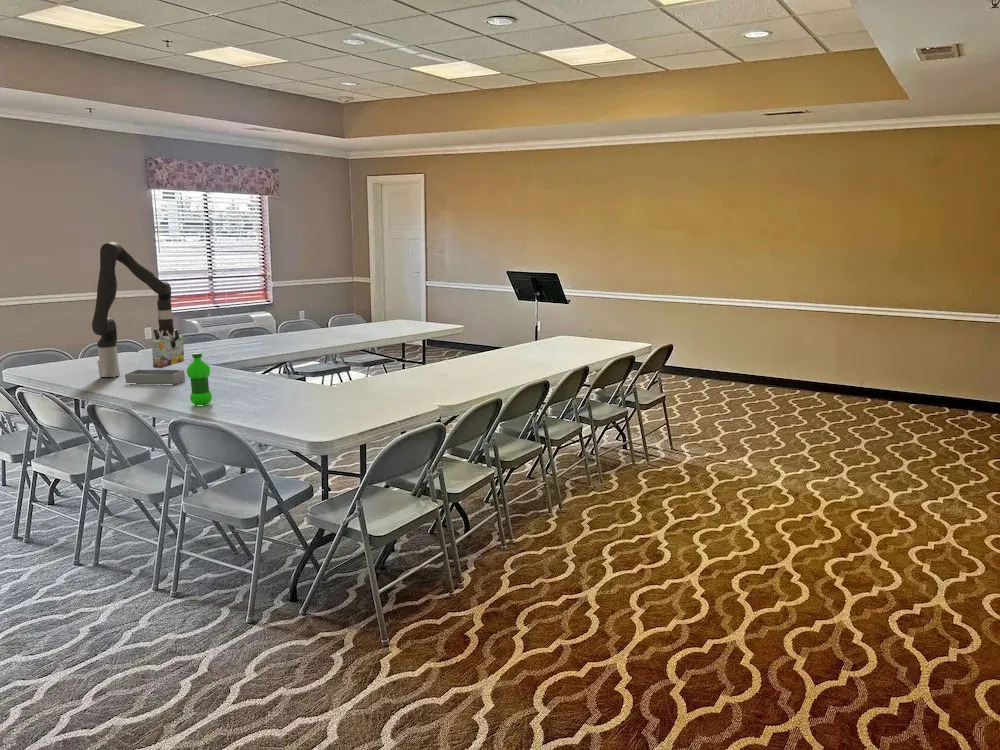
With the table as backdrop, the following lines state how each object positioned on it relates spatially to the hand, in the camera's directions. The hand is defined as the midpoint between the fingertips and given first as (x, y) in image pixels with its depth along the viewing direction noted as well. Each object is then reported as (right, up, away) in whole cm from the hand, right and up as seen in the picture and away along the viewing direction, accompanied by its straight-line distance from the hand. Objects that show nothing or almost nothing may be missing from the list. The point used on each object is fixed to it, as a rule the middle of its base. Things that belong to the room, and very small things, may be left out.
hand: (168, 347), depth 414 cm
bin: (0, -19, -15) cm, 25 cm away
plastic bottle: (+44, -30, -63) cm, 82 cm away
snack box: (0, -10, +2) cm, 10 cm away
